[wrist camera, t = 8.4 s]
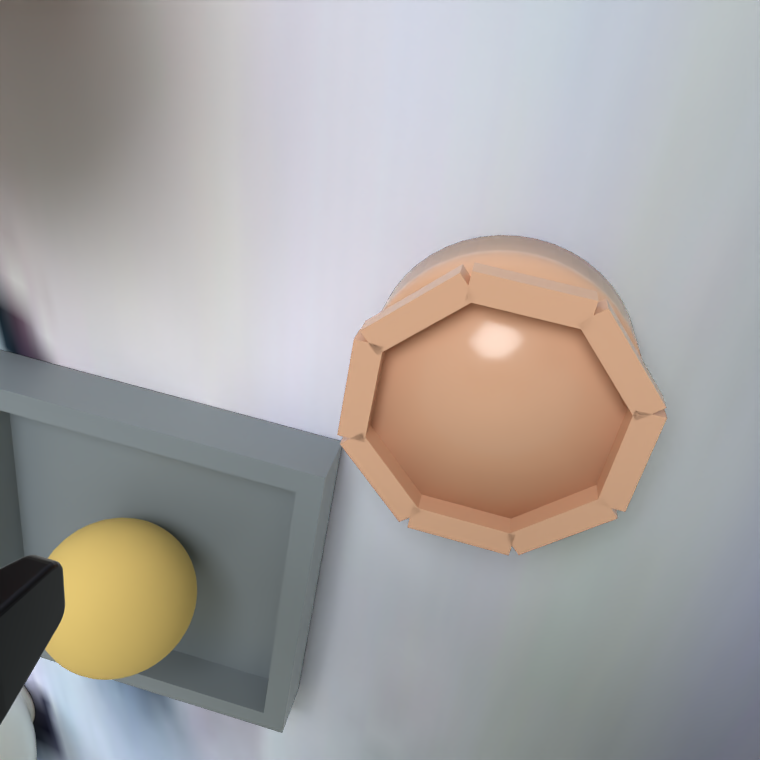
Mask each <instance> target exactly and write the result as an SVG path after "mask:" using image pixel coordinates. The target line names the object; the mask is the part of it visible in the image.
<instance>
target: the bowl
mask: <svg viewBox="0 0 760 760" xmlns="http://www.w3.org/2000/svg"><path fill="white" fill-rule="evenodd" d="M665 408H666V405H665V402H664V398H663V395H662V393H661V392H660V390H659V388H658V387H657V385H656V383H655V381H654V380H653V378H652V376H651V374H650V373H649V371H648V369H647V368H646V366H645V364H644V362H643V361H642V358H641V354H640V351H639V347H638V344H637V340H636V337H635V333H634V330H633V327H632V323H631V320H630V317H629V314H628V312H627V310H626V308H625V306H624V304H623V302H622V300H621V298H620V297H619V295H618V294H617V292H616V291H615V289H614V288H613V286H612V285H611V284H610V283H609V282H608V281H607V280H606V279H605V278H604V276H603V275H602V274H601V273H600V272H599V271H597V270H596V269H595V268H594V267H593V266H591V265H590V264H589V263H588V262H587V261H585V260H583V259H582V258H580V257H579V256H577V255H575V254H574V253H572V252H570V251H568V250H566V249H564V248H561V247H559V246H557V245H555V244H552V243H548V242H545V241H542V240H538V239H534V238H528V237H522V236H508V235H496V236H485V237H478V238H474V239H469V240H465V241H461V242H459V243H456V244H453V245H450V246H448V247H445V248H443V249H441V250H440V251H438V252H436V253H434V254H432V255H430V256H429V257H427V258H426V259H424V260H423V261H422V262H420V263H419V264H417V265H416V266H415V267H414V268H413V269H412V270H411V271H410V272H409V273H408V274H406V275H405V276H404V278H403V279H402V280H401V281H400V283H399V284H398V285H397V286H396V287H395V289H394V290H393V292H392V294H391V295H390V297H389V299H388V300H387V302H386V304H385V305H384V307H383V309H382V311H381V312H380V313H378V314H377V315H375V316H373V317H372V318H370V319H368V320H367V321H365V323H364V325H363V326H362V328H361V329H360V330H359V332H358V333H357V335H356V337H355V338H354V342H353V348H352V353H351V359H350V365H349V371H348V377H347V382H346V388H345V394H344V400H343V405H342V411H341V417H340V423H339V428H338V434H337V435H339V436H343V438H342V440H341V442H340V445H341V446H342V447H343V449H344V450H345V451H346V453H347V454H348V455H349V457H350V458H351V459H352V461H353V462H354V463H355V464H356V466H357V467H358V468H359V470H360V471H361V472H362V474H363V475H364V476H365V478H366V479H367V480H368V482H369V483H370V484H371V486H372V487H373V488H374V489H375V491H376V492H377V493H378V495H379V496H380V497H381V499H382V500H383V501H384V503H385V504H386V505H387V507H388V508H389V509H390V511H391V512H392V513H393V514H394V516H395V517H396V518H397V520H398V521H399V522H400V521H403V520H405V519H407V518H410V519H409V523H408V528H412V529H415V530H419V531H423V532H426V533H430V534H433V535H437V536H441V537H444V538H448V539H451V540H455V541H459V542H462V543H466V544H469V545H473V546H477V547H480V548H484V549H487V550H491V551H495V552H498V553H502V554H505V555H509V553H510V550H511V547H512V546H513V548H514V549H515V551H516V552H517V553H518V555H520V554H523V553H526V552H528V551H531V550H534V549H536V548H539V547H542V546H545V545H547V544H550V543H553V542H555V541H558V540H561V539H563V538H566V537H569V536H571V535H574V534H577V533H580V532H582V531H585V530H588V529H590V528H593V527H596V526H598V525H601V524H604V523H607V522H609V521H612V520H615V519H617V518H618V517H617V511H616V510H620V511H624V512H625V511H626V509H627V507H628V504H629V502H630V500H631V498H632V495H633V493H634V491H635V489H636V487H637V484H638V482H639V480H640V478H641V475H642V473H643V471H644V469H645V466H646V464H647V462H648V460H649V457H650V455H651V453H652V451H653V448H654V446H655V444H656V442H657V439H658V437H659V435H660V433H661V430H662V428H663V426H664V424H665V422H666V419H667V417H666V413H665V410H664V409H665Z"/></svg>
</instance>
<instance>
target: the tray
mask: <svg viewBox="0 0 760 760" xmlns="http://www.w3.org/2000/svg"><path fill="white" fill-rule="evenodd" d="M340 442H341V441H339V440H335V439H332V438H328V437H324V436H320V435H317V434H313V433H309V432H305V431H302V430H298V429H294V428H290V427H287V426H283V425H279V424H275V423H272V422H268V421H264V420H261V419H257V418H253V417H249V416H246V415H242V414H238V413H234V412H231V411H227V410H223V409H219V408H216V407H212V406H208V405H205V404H201V403H197V402H193V401H190V400H186V399H182V398H178V397H175V396H171V395H167V394H163V393H160V392H156V391H152V390H149V389H145V388H141V387H137V386H134V385H130V384H126V383H122V382H119V381H115V380H111V379H107V378H104V377H100V376H96V375H92V374H89V373H85V372H81V371H78V370H74V369H70V368H66V367H63V366H59V365H55V364H51V363H48V362H44V361H40V360H36V359H33V358H29V357H25V356H22V355H18V354H14V353H10V352H7V351H3V350H0V568H2V567H4V566H6V565H8V564H10V563H12V562H14V561H16V560H18V559H20V558H22V557H25V556H28V555H38V556H41V557H45V558H48V557H49V556H50V554H51V553H52V552H53V550H54V549H55V548H56V547H57V546H58V545H59V544H60V543H61V542H62V541H63V540H65V539H66V538H67V537H69V536H70V535H71V534H73V533H74V532H76V531H77V530H79V529H81V528H83V527H85V526H87V525H89V524H92V523H95V522H98V521H101V520H105V519H112V518H135V519H141V520H145V521H148V522H151V523H153V524H156V525H158V526H160V527H161V528H163V529H165V530H166V531H168V532H169V533H170V534H172V535H173V536H174V537H175V538H176V539H177V540H178V541H179V542H180V543H181V544H182V546H183V547H184V549H185V550H186V552H187V553H188V555H189V557H190V559H191V561H192V564H193V567H194V570H195V574H196V580H197V600H196V607H195V610H194V614H193V617H192V620H191V622H190V625H189V627H188V629H187V631H186V632H185V634H184V636H183V637H182V639H181V640H180V642H179V643H178V644H177V645H176V646H175V648H174V649H173V650H172V651H171V652H170V653H169V654H168V655H167V656H166V657H164V658H163V659H162V660H161V661H159V662H158V663H157V664H155V665H153V666H152V667H150V668H148V669H147V670H145V671H142V672H140V673H138V674H135V675H132V676H128V677H124V678H119V679H112V680H115V681H118V682H122V683H125V684H128V685H131V686H134V687H138V688H141V689H144V690H147V691H150V692H153V693H157V694H160V695H163V696H166V697H169V698H173V699H176V700H179V701H182V702H185V703H189V704H192V705H195V706H198V707H201V708H205V709H208V710H211V711H214V712H217V713H221V714H224V715H227V716H230V717H233V718H237V719H240V720H243V721H246V722H249V723H252V724H256V725H259V726H262V727H265V728H268V729H272V730H275V731H278V732H281V733H282V732H283V729H284V726H285V724H286V721H287V718H288V715H289V713H290V710H291V707H292V705H293V702H294V699H295V696H296V694H297V691H298V688H299V683H300V677H301V672H302V666H303V660H304V655H305V649H306V644H307V638H308V633H309V627H310V621H311V616H312V610H313V605H314V599H315V593H316V588H317V582H318V577H319V571H320V565H321V560H322V554H323V549H324V543H325V537H326V532H327V526H328V521H329V515H330V509H331V504H332V498H333V493H334V487H335V482H336V476H337V470H338V465H339V459H340V454H341V448H342V446H341V445H340ZM41 657H42V658H45V659H48V660H51V661H54V662H56V661H55V660H54V659H53V658H52V657H51V656H50V655H49V654H48V653H47V651H46V650H44V652H43V653H42V655H41Z"/></svg>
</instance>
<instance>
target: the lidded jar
mask: <svg viewBox="0 0 760 760" xmlns="http://www.w3.org/2000/svg"><path fill="white" fill-rule="evenodd" d="M34 719H35V706H34V703H33V700H32V698H31V696H30V694H29V692H28V691H27V689H26V688H25V686H23V688H22V689H21V691H20V693H19V694H18V696H17V698H16V700H15V701H14V703H13V705H12V706H11V708H10V710H9V712H8V713H7V715H6V717H5V718H4V720H3V721H2V723H1V725H0V760H37V748H36V736H35V730H34V726H33V722H34Z"/></svg>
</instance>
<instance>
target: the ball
mask: <svg viewBox="0 0 760 760" xmlns="http://www.w3.org/2000/svg"><path fill="white" fill-rule="evenodd" d="M48 559H51V560H55V561H57V562H59V563H60V564H61V566H62V568H63V577H64V592H65V611H64V614H63V617H62V620H61V622H60V624H59V626H58V628H57V629H56V631H55V633H54V634H53V636H52V638H51V640H50V641H49V643H48V645H47V646H46V648H45V650H46V651H47V653H48V654H49V655H50V656H51V657H52V658H53V659H54V660H55V661H56V662H57V663H58V664H60V665H61V666H62V667H64V668H65V669H67V670H69V671H71V672H73V673H75V674H78V675H81V676H84V677H88V678H92V679H102V680H107V679H119V678H124V677H128V676H132V675H135V674H138V673H140V672H142V671H145V670H147V669H148V668H150V667H152V666H153V665H155V664H157V663H158V662H159V661H161V660H162V659H163V658H164V657H166V656H167V655H168V654H169V653H170V652H171V651H172V650H173V649H174V648H175V646H176V645H177V644H178V643H179V642H180V640H181V639H182V637H183V636H184V634H185V632H186V631H187V629H188V627H189V625H190V622H191V620H192V617H193V614H194V610H195V607H196V600H197V580H196V574H195V570H194V567H193V564H192V561H191V559H190V557H189V555H188V553H187V552H186V550H185V549H184V547H183V546H182V544H181V543H180V542H179V541H178V540H177V539H176V538H175V537H174V536H173V535H172V534H170V533H169V532H168V531H166V530H165V529H163V528H161V527H160V526H158V525H156V524H153V523H151V522H148V521H145V520H141V519H135V518H112V519H105V520H101V521H98V522H95V523H92V524H89V525H87V526H85V527H83V528H81V529H79V530H77V531H76V532H74V533H73V534H71V535H70V536H69V537H67V538H66V539H65V540H63V541H62V542H61V543H60V544H59V545H58V546H57V547H56V548H55V549H54V550H53V552H52V553H51V554H50V556H49V557H48Z"/></svg>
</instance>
